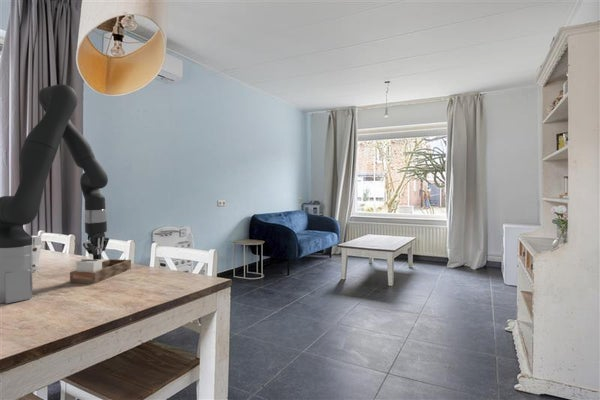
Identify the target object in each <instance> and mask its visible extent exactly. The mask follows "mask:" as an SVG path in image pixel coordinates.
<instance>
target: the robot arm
mask: <svg viewBox="0 0 600 400" xmlns="http://www.w3.org/2000/svg"><path fill="white" fill-rule="evenodd" d="M37 99H38V102H39V104H40V106H41V107H42V109H43V111H44V115H43V117H42V118H41V119H40V120H39V122H38V123H36V125H35V126H34V127H33V128H32V130H31V131H30V132H29V133H28V135H27V136H26V137H25V139H24V141H23V144H22V146H21V149H20V152H19V154H18V155H19V156H18V162H19V169H20V181H19V184H18V185H17V186H18V187H17V190H16V192H15V193H14V195H3V196H0V304H10V303H17V302H21V301H26V300H31V298H32V297H33V294H34V293H33V292H34V291H33V289H34V287H33V285H34V284H33V283H34V282H33V272H32V237H31V236H32V235H31V234H29V233H27V232H26V230H25V228H24V226H25V225H28V224H31V223H32V222H33V221H34V220H35V219H36V217H37V216H38V213H39V211H40V206H41V204H42V203H41V201H42V198H43V194H44V189H45V185H46V183H47V179H48V177H49V174H50V171H51V168H52V165H53V164H54V161H55V158H56V156H57V153H58V150H59V147H60V144H61V141H62V139H63V141H64V142H65V145H66V146H67V149H68V151H69V152H70V155H71V156H72V159H73V161H74V163H75V165H76V166H77V167H78V168H80V169H82V170H83V171H84V172H83V173H82V174H81V176H80V180H79V181H80V182H79V185H80V188H81V192H82V195H83V198H84V232H85V234H87V238H86V239H87V240H86V242H83V243H82V246H83V247H84V249H85V251H86V252H87V253H88V254H89V255H92V257H93V258H92V259H94V260H102V253H103V252H105V251H106V248H107V246H108V243H109V240H110V238H109V237H106V232H108V228H107V227H108V226H107V225H108V224H107V223H108V222H107V212H106V210H107V209H106V198H105V195H103V194H101V192H100V191H101V189H104V188H105V187H106V186H107V185H108V182H109V178H108V175H107V172H106V171H105V169H104V168H103V166H102V165H101V163H100V162H99V161H98V160H97V158H96V157H95V154H94V152H93V149H92V147H91V145H90V143H89V141H88V140H87V139H86V138H85V136H84V135H83V134H82V133H81V132H80V131H79V130H78V129H77V128H76V126H75V125H74V124H73V122H72V121H71V118H72V115H73V114H74V112H75V109H76V108H77V105H78V103H79V102H78V100H79V99H78V95H77V92H76V91H75V89H74V88H73V87H71V86H70V85H68V84H54V85H50V86H46V87H44V88H41V89H40V90H39V91H38V94H37Z"/></svg>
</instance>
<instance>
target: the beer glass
mask: <svg viewBox="0 0 600 400" xmlns="http://www.w3.org/2000/svg"><path fill="white" fill-rule="evenodd" d="M30 236H31V237H32V273H36V272H39V271H41V269H40V263H39V260H40V255H41V249H42V242H41V235H30Z"/></svg>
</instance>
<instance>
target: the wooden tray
mask: <svg viewBox="0 0 600 400" xmlns="http://www.w3.org/2000/svg"><path fill="white" fill-rule="evenodd" d="M129 270H132V259H117V258H116V259H110V258H108V259H107V260H102V270H99V271H96V272H77V269H75V270H73V271H70V272H69V283H71V284H72V283H73V284H97V283H100V282H102V281H104V280H107V279H109V278H112V277H115V276H117V275H119V274H121V273H124V272H127V271H129Z"/></svg>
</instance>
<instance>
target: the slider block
mask: <svg viewBox="0 0 600 400" xmlns="http://www.w3.org/2000/svg"><path fill="white" fill-rule="evenodd" d="M102 262H103V259H101V260H94V259H93V258H92V259H91V258H90V259H87V258H85V259H84V258H83V259H80V260H79V261H76V270H77V272H96V271H99V270H102Z"/></svg>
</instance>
